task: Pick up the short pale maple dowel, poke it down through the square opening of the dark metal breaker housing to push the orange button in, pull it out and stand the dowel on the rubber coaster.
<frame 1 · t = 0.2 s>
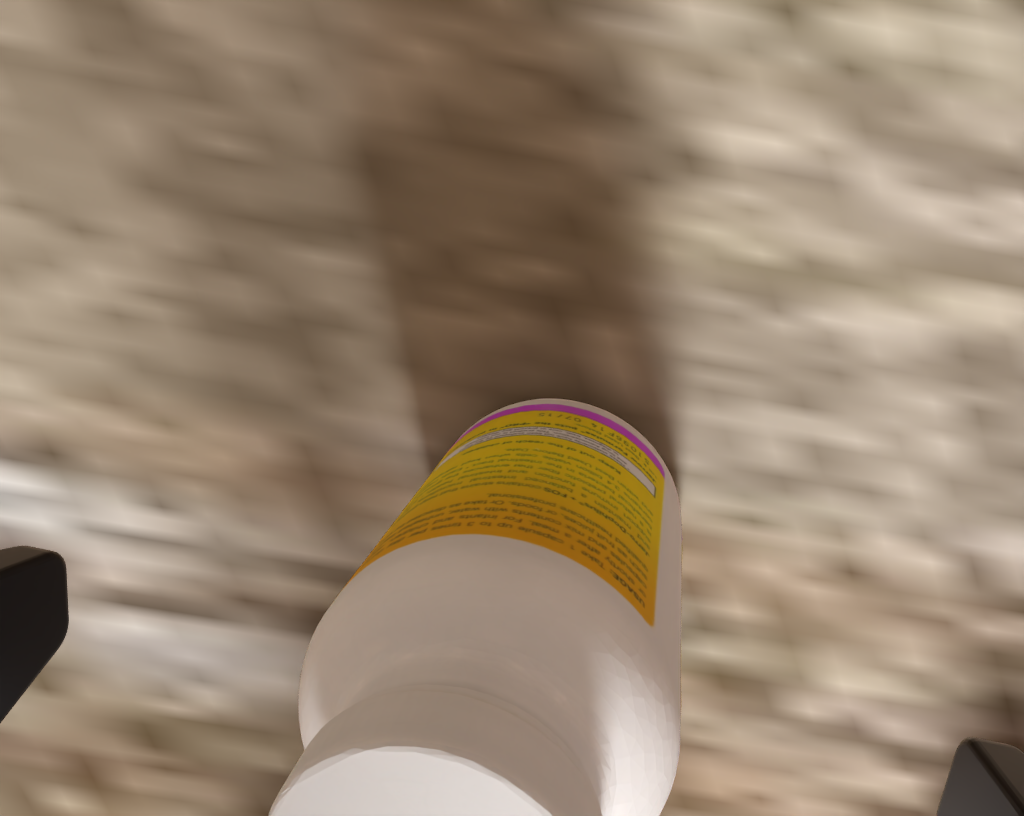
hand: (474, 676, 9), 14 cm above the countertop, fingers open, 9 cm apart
supplement bottle: (558, 507, 24), on the countertop
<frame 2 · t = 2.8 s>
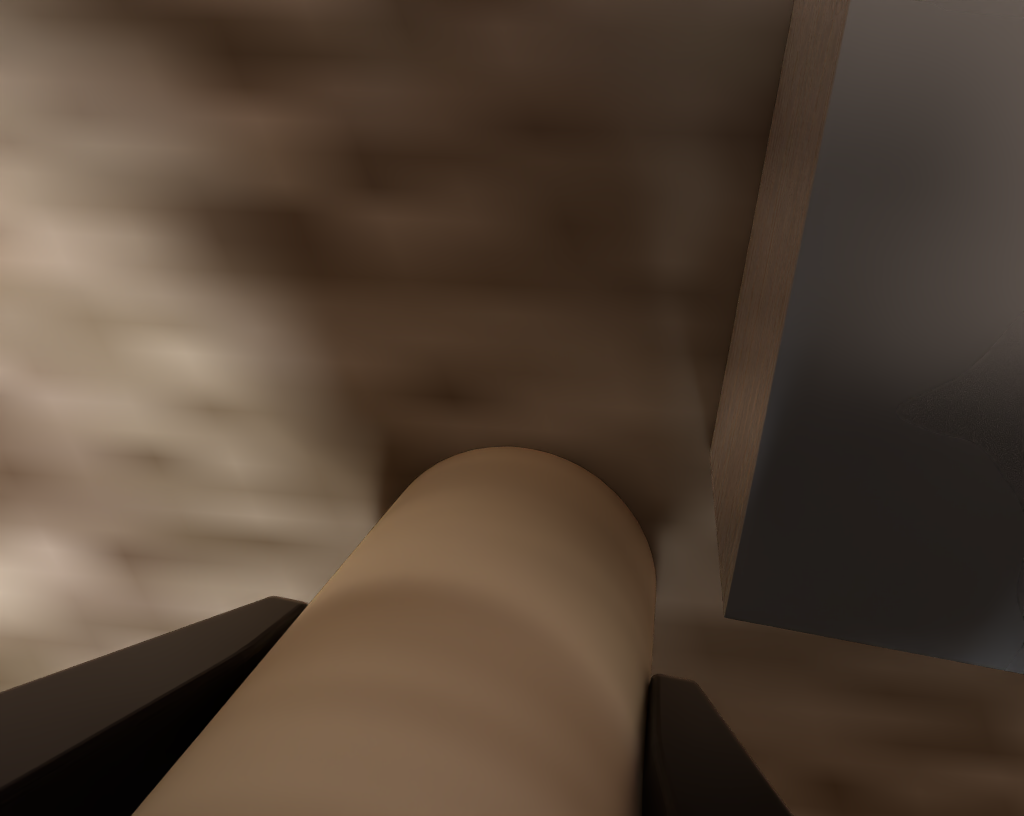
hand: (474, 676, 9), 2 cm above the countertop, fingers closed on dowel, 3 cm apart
dowel: (513, 580, 10), on the countertop, touching gripper
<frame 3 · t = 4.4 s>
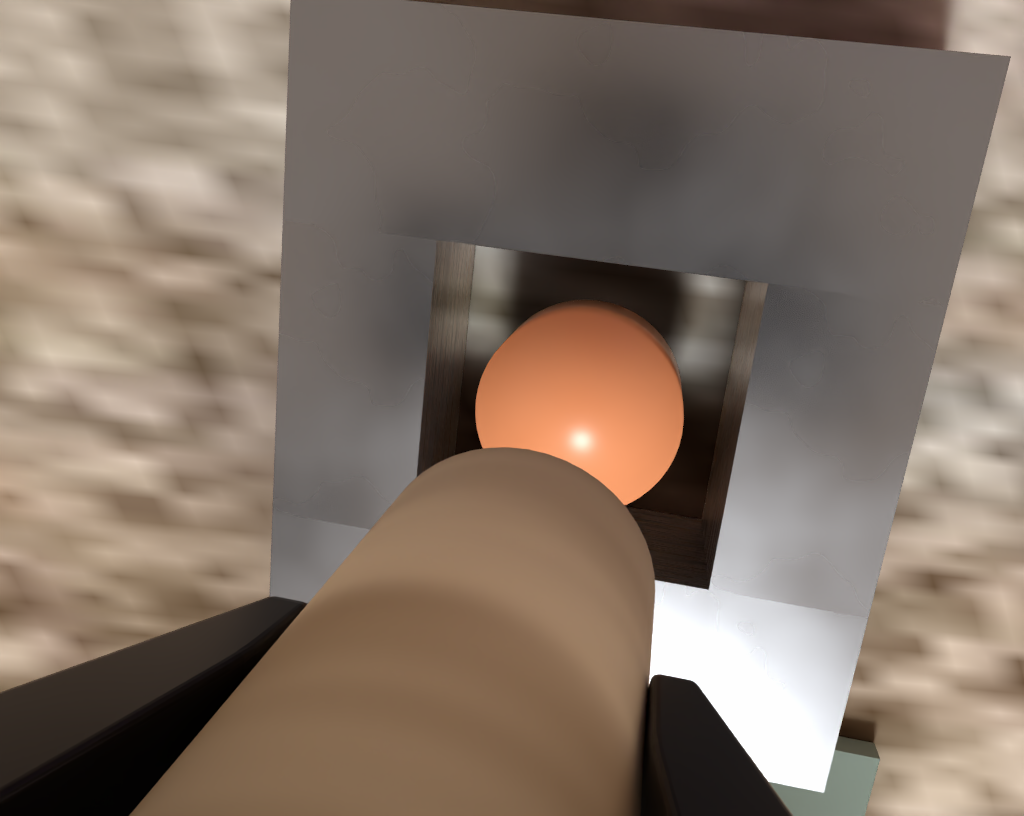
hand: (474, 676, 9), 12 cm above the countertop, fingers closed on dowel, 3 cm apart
breaker housing: (591, 376, 20), on the countertop
button: (581, 404, 17), point 2 cm above the countertop, slide at 0.0 cm
dowel: (511, 581, 10), point 10 cm above the countertop, touching gripper
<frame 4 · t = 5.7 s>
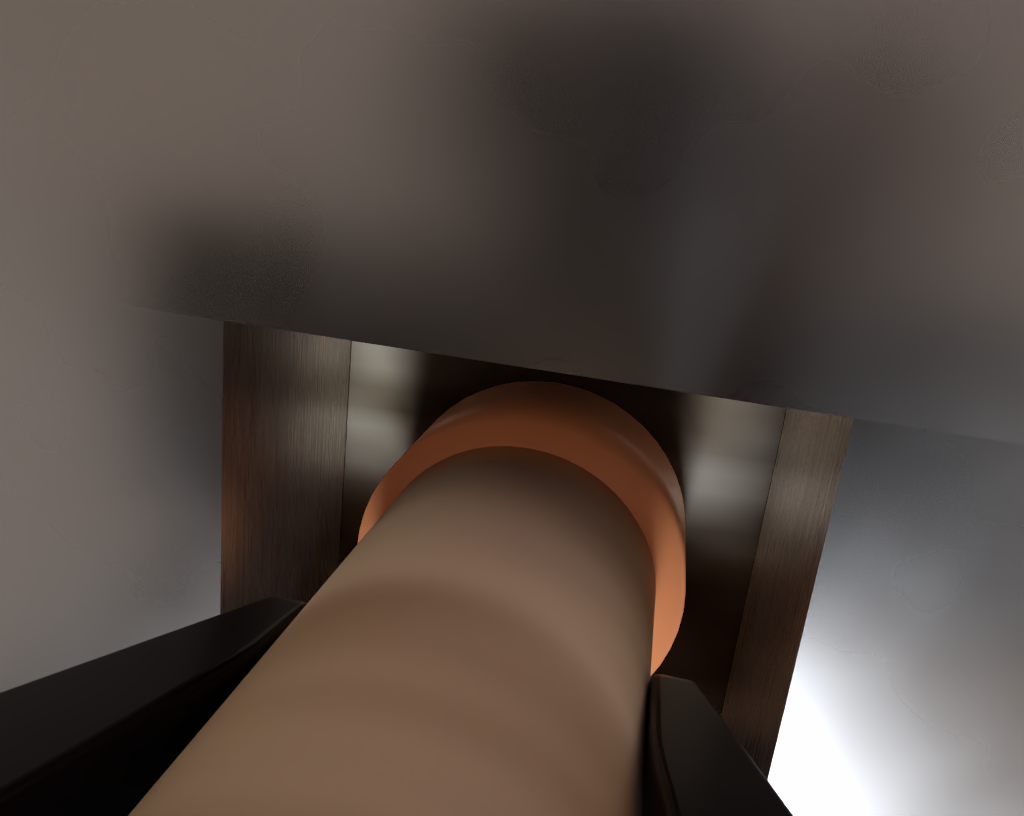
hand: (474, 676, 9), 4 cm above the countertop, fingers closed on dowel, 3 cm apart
breaker housing: (542, 511, 12), on the countertop
button: (528, 547, 11), point 1 cm above the countertop, slide at 1.3 cm, touching dowel
dowel: (512, 580, 10), point 2 cm above the countertop, touching button, gripper
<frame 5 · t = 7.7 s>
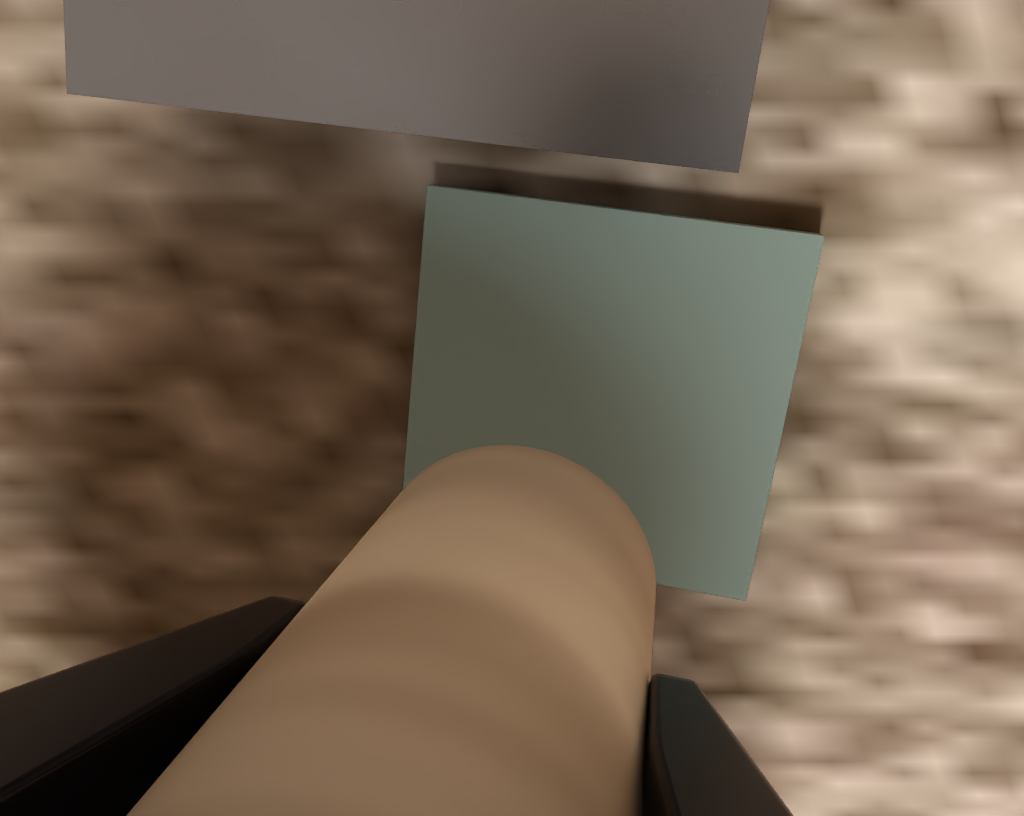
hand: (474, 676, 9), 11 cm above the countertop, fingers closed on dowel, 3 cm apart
coaster: (594, 392, 19), on the countertop
dowel: (512, 579, 10), point 9 cm above the countertop, touching gripper
when the fingers open (3 cm above the countertop, at t = 9.4 s): dowel stays where it is, resting on coaster.
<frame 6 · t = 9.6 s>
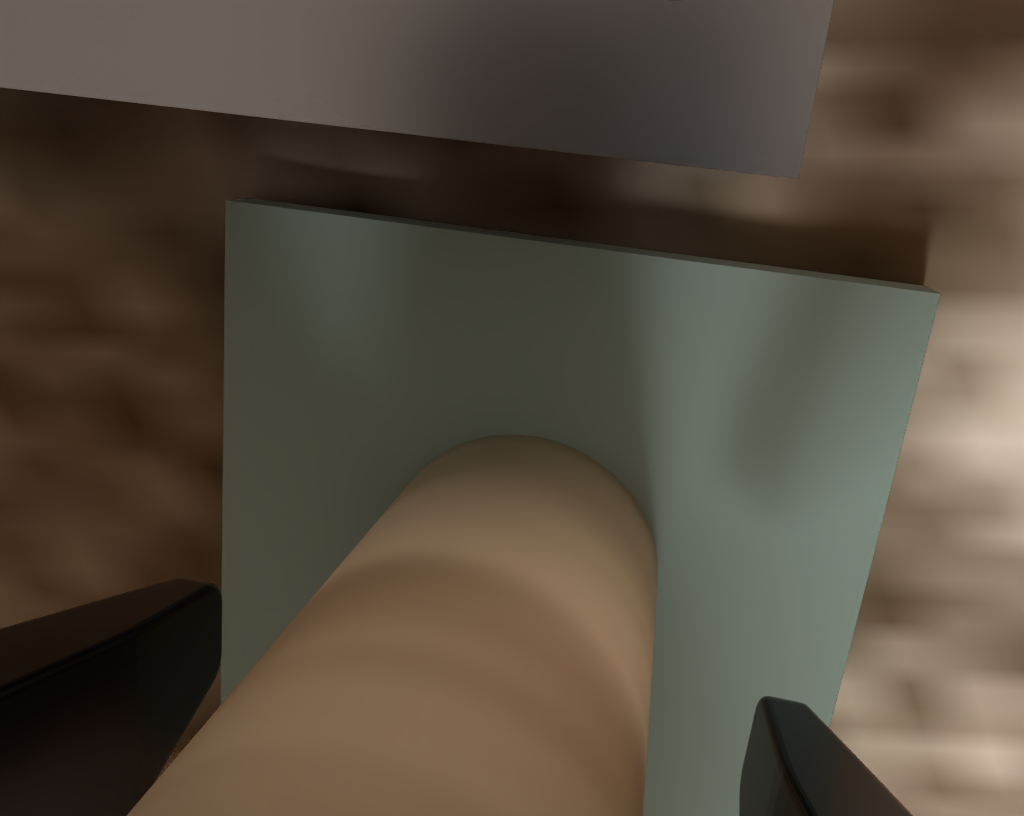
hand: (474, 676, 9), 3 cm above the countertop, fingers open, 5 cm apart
coaster: (529, 547, 11), on the countertop
dowel: (519, 565, 11), point 1 cm above the countertop, touching coaster
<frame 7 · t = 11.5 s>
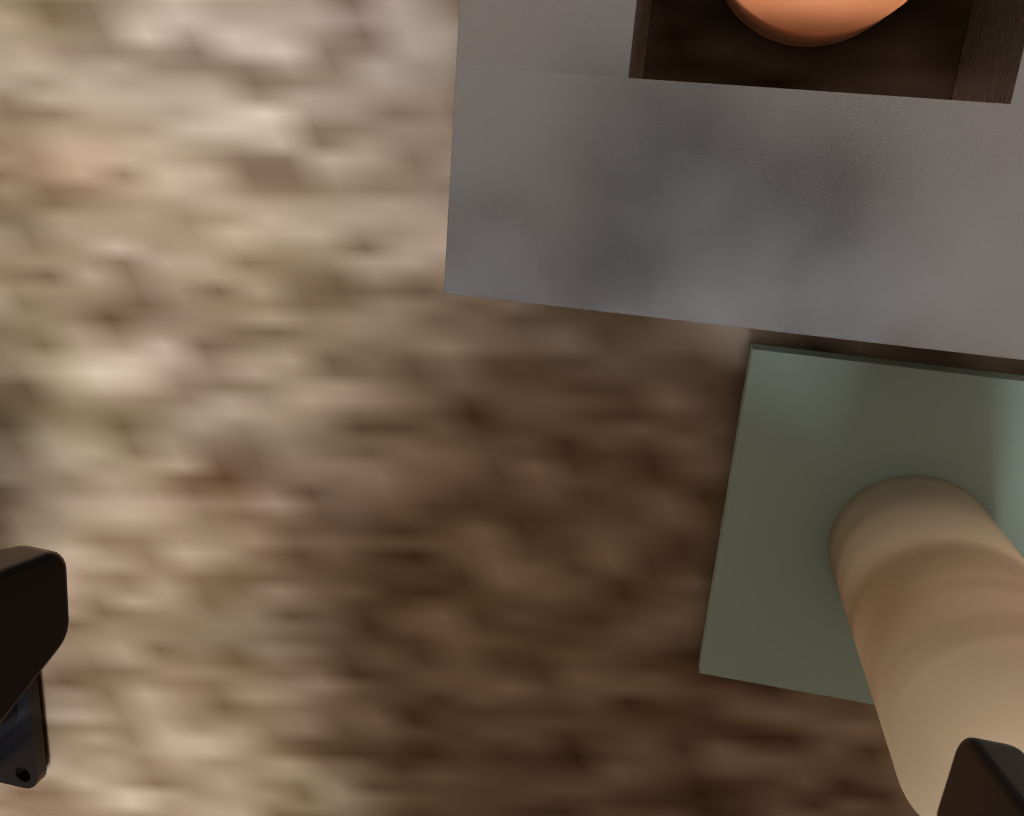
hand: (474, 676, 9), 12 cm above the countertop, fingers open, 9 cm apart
coaster: (904, 537, 20), on the countertop
dowel: (909, 547, 19), point 1 cm above the countertop, touching coaster
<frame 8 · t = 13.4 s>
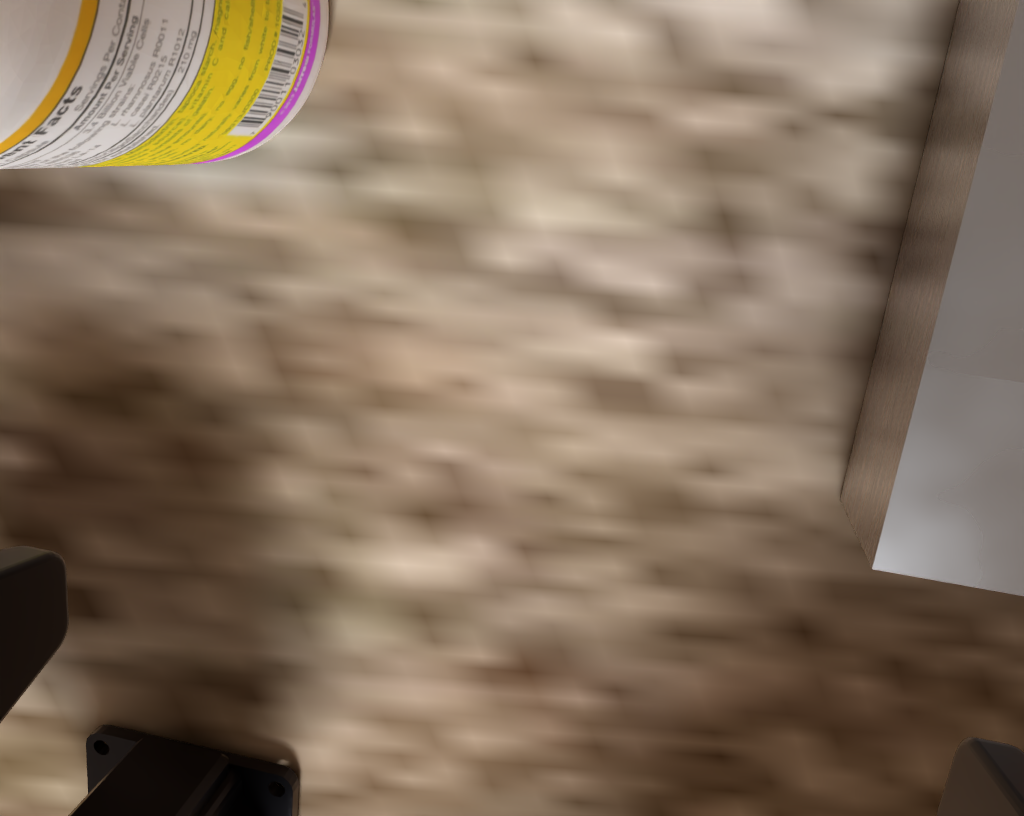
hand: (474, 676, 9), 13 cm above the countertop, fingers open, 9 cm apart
supplement bottle: (206, 15, 20), on the countertop
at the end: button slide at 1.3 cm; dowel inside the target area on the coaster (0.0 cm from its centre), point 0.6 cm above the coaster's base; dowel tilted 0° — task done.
